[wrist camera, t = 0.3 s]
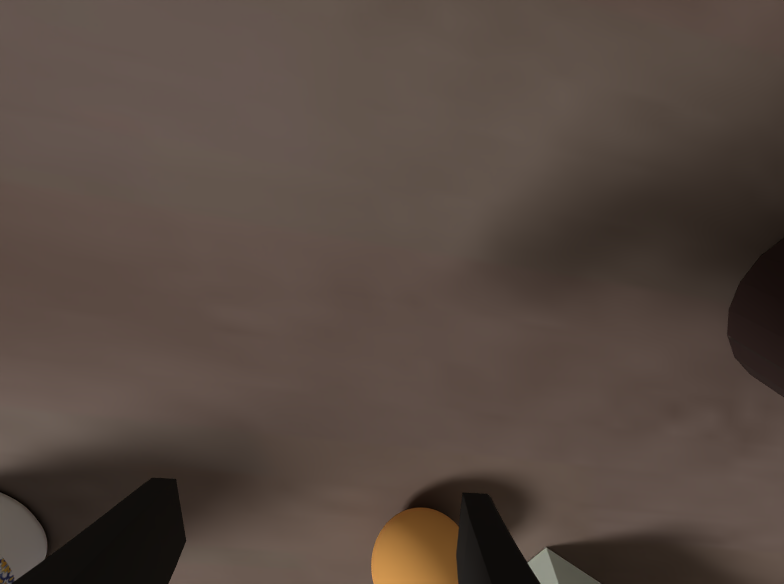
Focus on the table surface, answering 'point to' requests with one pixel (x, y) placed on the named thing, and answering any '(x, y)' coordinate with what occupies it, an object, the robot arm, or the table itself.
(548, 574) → the mint green block
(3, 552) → the bath foam
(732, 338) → the lantern
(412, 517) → the ball
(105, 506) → the table surface
